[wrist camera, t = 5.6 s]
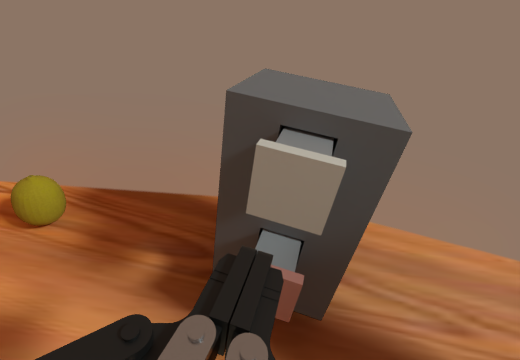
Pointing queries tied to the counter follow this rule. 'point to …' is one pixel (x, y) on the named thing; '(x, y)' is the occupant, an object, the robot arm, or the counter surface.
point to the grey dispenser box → (344, 147)
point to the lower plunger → (283, 268)
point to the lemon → (38, 200)
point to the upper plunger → (295, 179)
